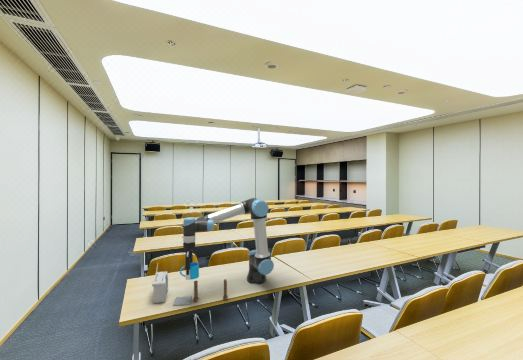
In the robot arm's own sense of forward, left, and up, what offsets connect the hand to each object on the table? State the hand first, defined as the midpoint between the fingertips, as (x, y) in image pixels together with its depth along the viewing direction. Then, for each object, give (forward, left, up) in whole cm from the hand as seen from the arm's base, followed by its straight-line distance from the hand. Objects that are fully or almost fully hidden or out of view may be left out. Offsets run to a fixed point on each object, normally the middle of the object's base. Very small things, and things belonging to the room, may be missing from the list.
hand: (189, 276), depth 161 cm
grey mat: (+4, 0, -16) cm, 17 cm away
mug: (0, 0, -1) cm, 1 cm away
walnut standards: (-14, 0, -16) cm, 21 cm away
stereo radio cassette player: (+20, -9, -16) cm, 28 cm away
